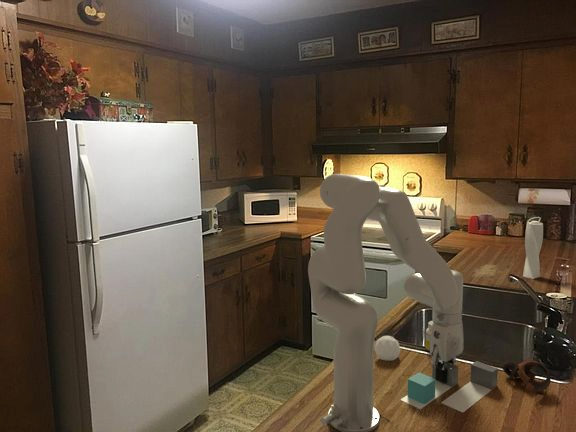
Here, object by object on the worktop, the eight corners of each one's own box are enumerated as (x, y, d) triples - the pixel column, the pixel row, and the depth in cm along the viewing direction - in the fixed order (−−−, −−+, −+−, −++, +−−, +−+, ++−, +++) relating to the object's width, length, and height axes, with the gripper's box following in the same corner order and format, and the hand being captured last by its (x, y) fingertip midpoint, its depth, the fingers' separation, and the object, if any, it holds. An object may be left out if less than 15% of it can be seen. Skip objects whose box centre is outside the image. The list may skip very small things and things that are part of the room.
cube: (424, 404, 122) (424, 386, 121) (407, 396, 125) (407, 379, 125) (435, 396, 125) (435, 379, 124) (418, 389, 129) (418, 372, 128)
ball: (383, 365, 151) (383, 339, 154) (405, 363, 145) (405, 337, 149) (369, 360, 146) (369, 334, 150) (391, 358, 141) (391, 331, 144)
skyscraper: (528, 273, 230) (532, 215, 226) (543, 276, 224) (548, 217, 220) (519, 276, 226) (522, 217, 221) (535, 280, 220) (539, 220, 215)
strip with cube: (420, 412, 120) (420, 390, 119) (400, 403, 124) (400, 381, 123) (457, 386, 132) (458, 366, 131) (437, 378, 136) (438, 358, 135)
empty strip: (462, 416, 118) (463, 393, 117) (440, 406, 122) (441, 384, 121) (496, 389, 130) (497, 368, 129) (475, 380, 134) (476, 360, 133)
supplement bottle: (429, 356, 150) (429, 327, 148) (422, 348, 155) (423, 320, 153) (445, 354, 150) (446, 326, 149) (438, 347, 156) (439, 319, 154)
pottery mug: (545, 380, 135) (555, 364, 129) (541, 409, 128) (551, 393, 123) (500, 363, 139) (508, 346, 134) (494, 390, 133) (502, 373, 127)
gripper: (443, 328, 121) (441, 395, 124) (475, 311, 132) (472, 373, 135) (417, 320, 127) (416, 384, 130) (450, 304, 137) (448, 364, 141)
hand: (444, 378), depth 133 cm, fingers closed on strip with cube, 3 cm apart
